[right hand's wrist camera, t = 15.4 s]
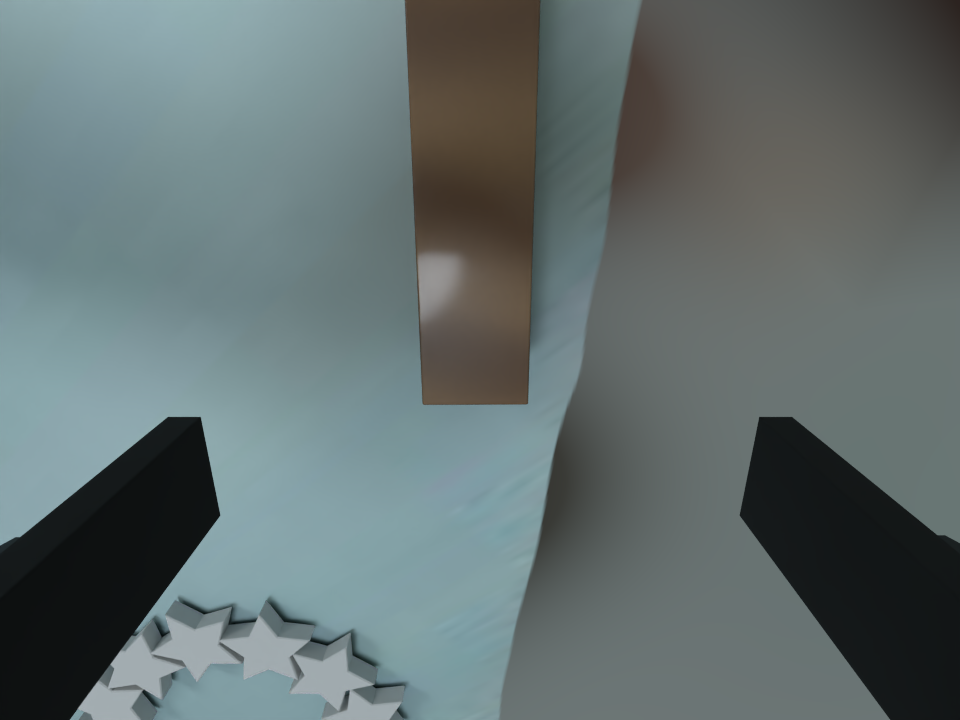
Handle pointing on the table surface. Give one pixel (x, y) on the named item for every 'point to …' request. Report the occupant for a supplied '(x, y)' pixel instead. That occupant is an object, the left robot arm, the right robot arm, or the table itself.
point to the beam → (473, 193)
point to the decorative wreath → (261, 645)
